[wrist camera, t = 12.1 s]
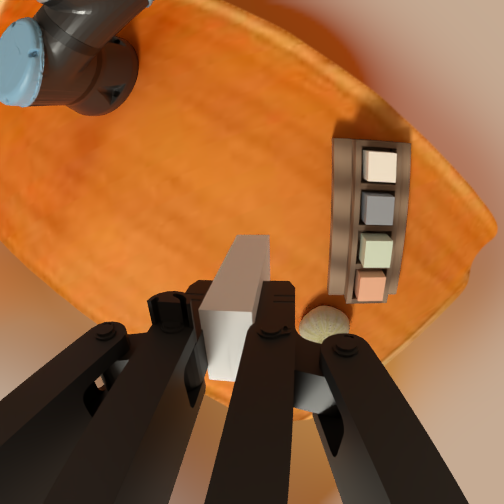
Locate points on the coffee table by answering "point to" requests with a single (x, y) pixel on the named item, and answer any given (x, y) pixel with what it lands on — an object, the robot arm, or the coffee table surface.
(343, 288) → the brown stepped piece
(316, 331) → the sea urchin shell
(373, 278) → the terracotta key
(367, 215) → the slate key
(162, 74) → the coffee table surface
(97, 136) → the coffee table surface
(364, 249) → the sage key
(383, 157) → the ivory key
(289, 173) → the coffee table surface
